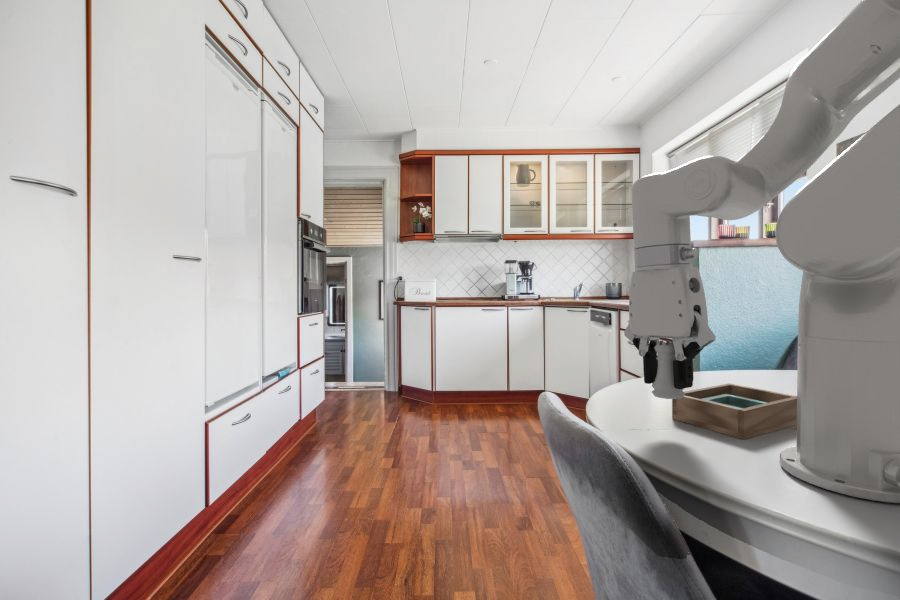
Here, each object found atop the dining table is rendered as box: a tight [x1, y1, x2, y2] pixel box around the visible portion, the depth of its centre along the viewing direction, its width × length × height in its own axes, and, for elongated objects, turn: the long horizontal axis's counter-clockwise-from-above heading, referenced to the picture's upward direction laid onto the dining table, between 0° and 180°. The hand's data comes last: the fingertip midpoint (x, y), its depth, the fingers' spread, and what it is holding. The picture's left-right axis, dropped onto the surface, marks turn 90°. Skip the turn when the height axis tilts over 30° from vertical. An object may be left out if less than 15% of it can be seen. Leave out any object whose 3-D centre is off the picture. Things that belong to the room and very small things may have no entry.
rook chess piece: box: [651, 340, 685, 400], centre depth 64 cm, size 4×4×8 cm
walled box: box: [671, 382, 797, 441], centre depth 69 cm, size 11×15×4 cm
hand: (667, 383), depth 64 cm, fingers closed on rook chess piece, 4 cm apart
